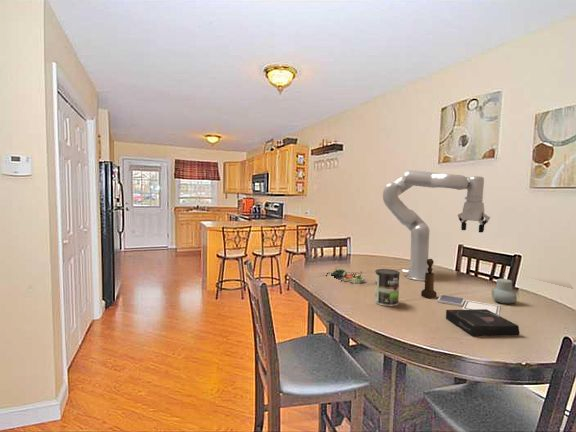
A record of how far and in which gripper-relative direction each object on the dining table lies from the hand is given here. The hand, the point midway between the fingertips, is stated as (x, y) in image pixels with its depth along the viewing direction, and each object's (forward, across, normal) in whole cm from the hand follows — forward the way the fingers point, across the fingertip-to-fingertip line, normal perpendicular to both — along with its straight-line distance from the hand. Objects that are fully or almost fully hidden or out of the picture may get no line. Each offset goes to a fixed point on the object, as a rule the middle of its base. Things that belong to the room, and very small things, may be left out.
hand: (472, 231), depth 183 cm
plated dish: (+31, -38, -52) cm, 72 cm away
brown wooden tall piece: (+30, +6, -40) cm, 50 cm away
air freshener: (+29, +27, -16) cm, 43 cm away
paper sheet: (+29, +27, -34) cm, 52 cm away
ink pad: (+29, +16, -37) cm, 50 cm away
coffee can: (+30, +3, -65) cm, 71 cm away
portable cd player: (+30, +40, -54) cm, 74 cm away
